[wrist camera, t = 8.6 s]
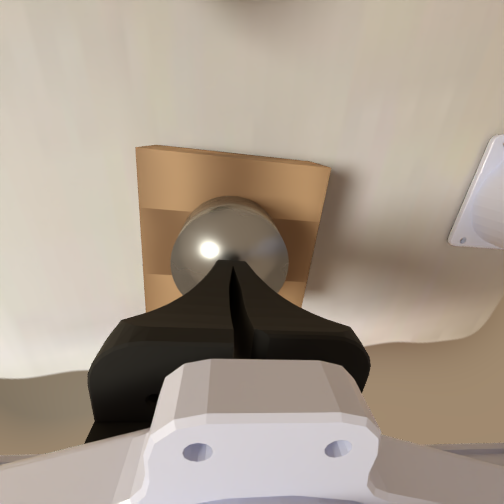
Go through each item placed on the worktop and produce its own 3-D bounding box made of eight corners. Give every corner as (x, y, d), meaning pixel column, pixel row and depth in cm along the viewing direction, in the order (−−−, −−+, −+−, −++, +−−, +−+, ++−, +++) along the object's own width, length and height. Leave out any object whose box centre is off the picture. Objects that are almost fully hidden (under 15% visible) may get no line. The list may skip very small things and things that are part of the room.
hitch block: (309, 161, 18) (331, 168, 14) (286, 289, 22) (298, 320, 18) (155, 144, 17) (135, 147, 13) (160, 283, 20) (146, 315, 17)
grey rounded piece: (276, 192, 18) (301, 220, 12) (261, 265, 20) (275, 320, 14) (193, 178, 17) (174, 200, 11) (186, 256, 19) (167, 310, 13)
